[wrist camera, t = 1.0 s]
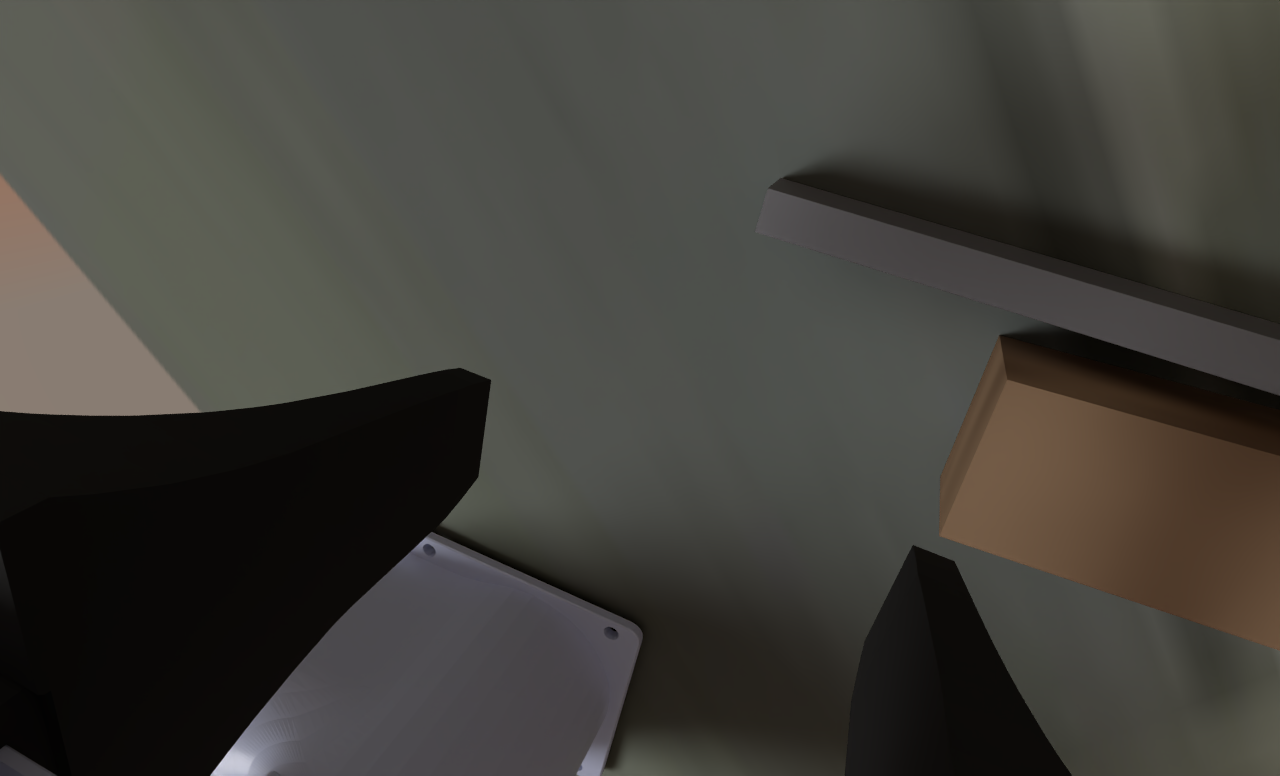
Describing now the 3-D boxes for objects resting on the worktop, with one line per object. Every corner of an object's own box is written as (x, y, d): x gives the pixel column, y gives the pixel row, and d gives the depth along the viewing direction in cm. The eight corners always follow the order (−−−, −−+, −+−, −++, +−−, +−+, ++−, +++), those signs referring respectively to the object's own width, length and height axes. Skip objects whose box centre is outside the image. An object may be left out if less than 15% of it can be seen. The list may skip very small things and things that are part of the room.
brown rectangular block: (940, 471, 19) (939, 536, 17) (998, 331, 18) (1007, 379, 15) (1291, 582, 18) (1350, 674, 15) (1398, 437, 16) (1486, 513, 13)
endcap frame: (702, 443, 21) (647, 530, 17) (780, 178, 18) (734, 214, 14) (1601, 788, 17) (1797, 1011, 13) (1958, 522, 13) (2379, 722, 9)
